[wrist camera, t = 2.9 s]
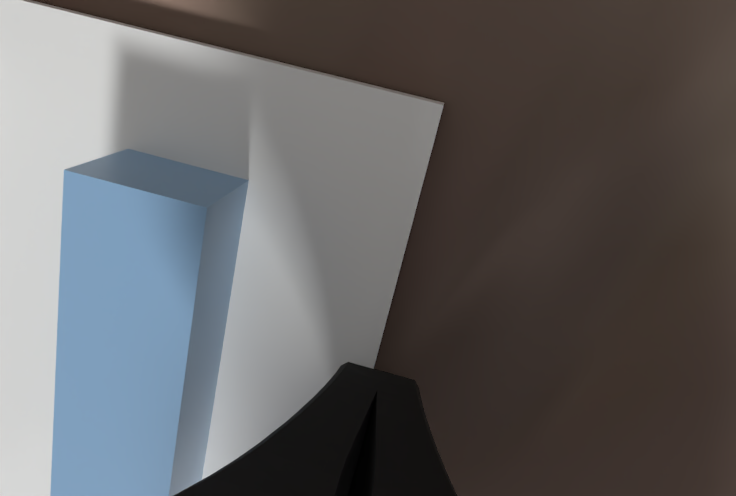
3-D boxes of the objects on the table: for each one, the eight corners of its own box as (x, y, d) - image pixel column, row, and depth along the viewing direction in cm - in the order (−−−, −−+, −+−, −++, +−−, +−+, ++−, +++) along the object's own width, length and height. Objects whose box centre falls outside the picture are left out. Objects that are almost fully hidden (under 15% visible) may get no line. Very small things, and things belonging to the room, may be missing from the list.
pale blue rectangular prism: (248, 179, 10) (207, 208, 9) (199, 491, 13) (160, 561, 11) (128, 148, 10) (63, 169, 9) (102, 463, 13) (49, 527, 11)
